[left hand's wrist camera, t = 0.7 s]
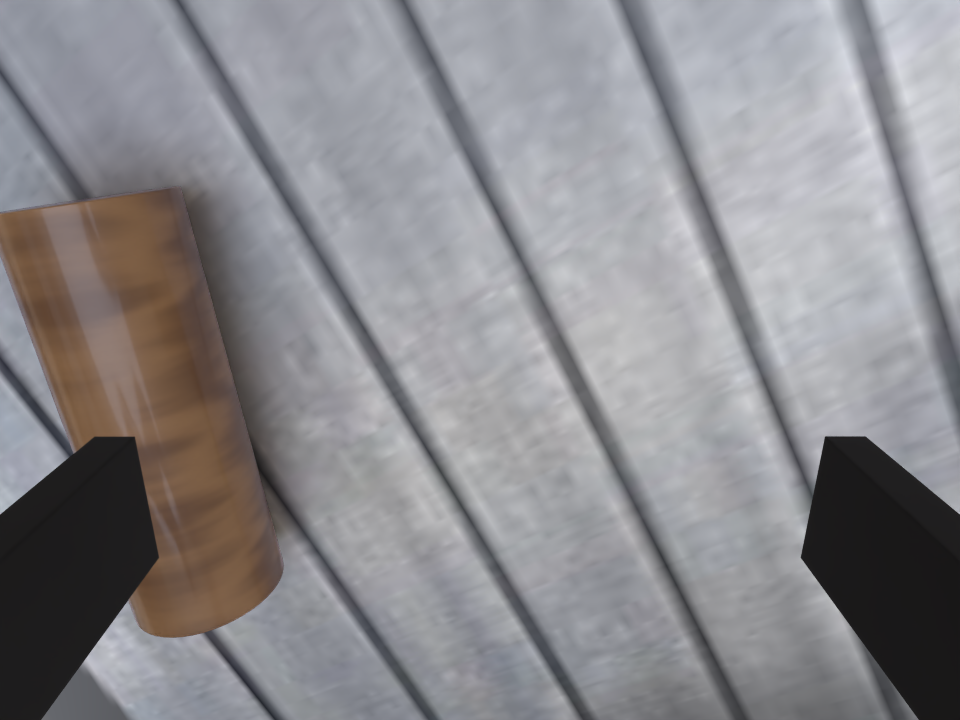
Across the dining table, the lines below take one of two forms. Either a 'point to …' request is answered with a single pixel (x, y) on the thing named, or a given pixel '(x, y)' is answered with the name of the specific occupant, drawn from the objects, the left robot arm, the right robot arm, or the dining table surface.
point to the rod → (150, 391)
